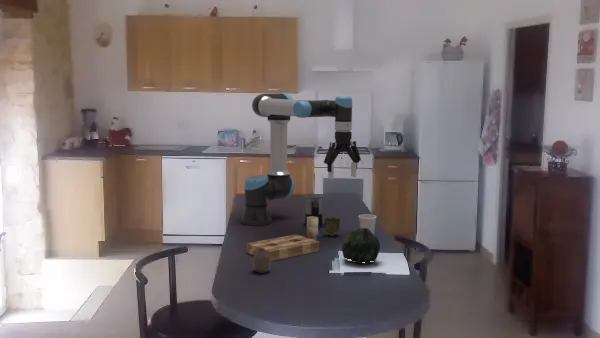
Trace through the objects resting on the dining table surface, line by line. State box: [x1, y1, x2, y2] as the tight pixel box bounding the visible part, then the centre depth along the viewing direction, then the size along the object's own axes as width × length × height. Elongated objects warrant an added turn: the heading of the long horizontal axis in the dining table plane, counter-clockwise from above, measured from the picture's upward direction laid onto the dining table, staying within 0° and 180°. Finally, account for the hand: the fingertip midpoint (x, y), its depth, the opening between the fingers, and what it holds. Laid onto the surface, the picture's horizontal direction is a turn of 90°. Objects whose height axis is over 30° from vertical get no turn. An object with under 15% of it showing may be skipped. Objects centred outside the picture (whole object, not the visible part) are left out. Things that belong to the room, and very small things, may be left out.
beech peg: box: [306, 216, 319, 241], centre depth 278 cm, size 5×5×12 cm
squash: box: [341, 228, 381, 265], centre depth 249 cm, size 14×15×15 cm
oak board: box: [246, 233, 321, 262], centre depth 263 cm, size 16×26×4 cm, turn 128°
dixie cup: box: [357, 213, 377, 235], centre depth 289 cm, size 8×8×10 cm
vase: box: [252, 248, 272, 274], centre depth 236 cm, size 7×7×9 cm
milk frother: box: [304, 194, 325, 228], centre depth 311 cm, size 14×16×15 cm
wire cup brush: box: [323, 216, 341, 237], centre depth 292 cm, size 8×7×8 cm
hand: (342, 178), depth 284 cm, fingers open, 13 cm apart
